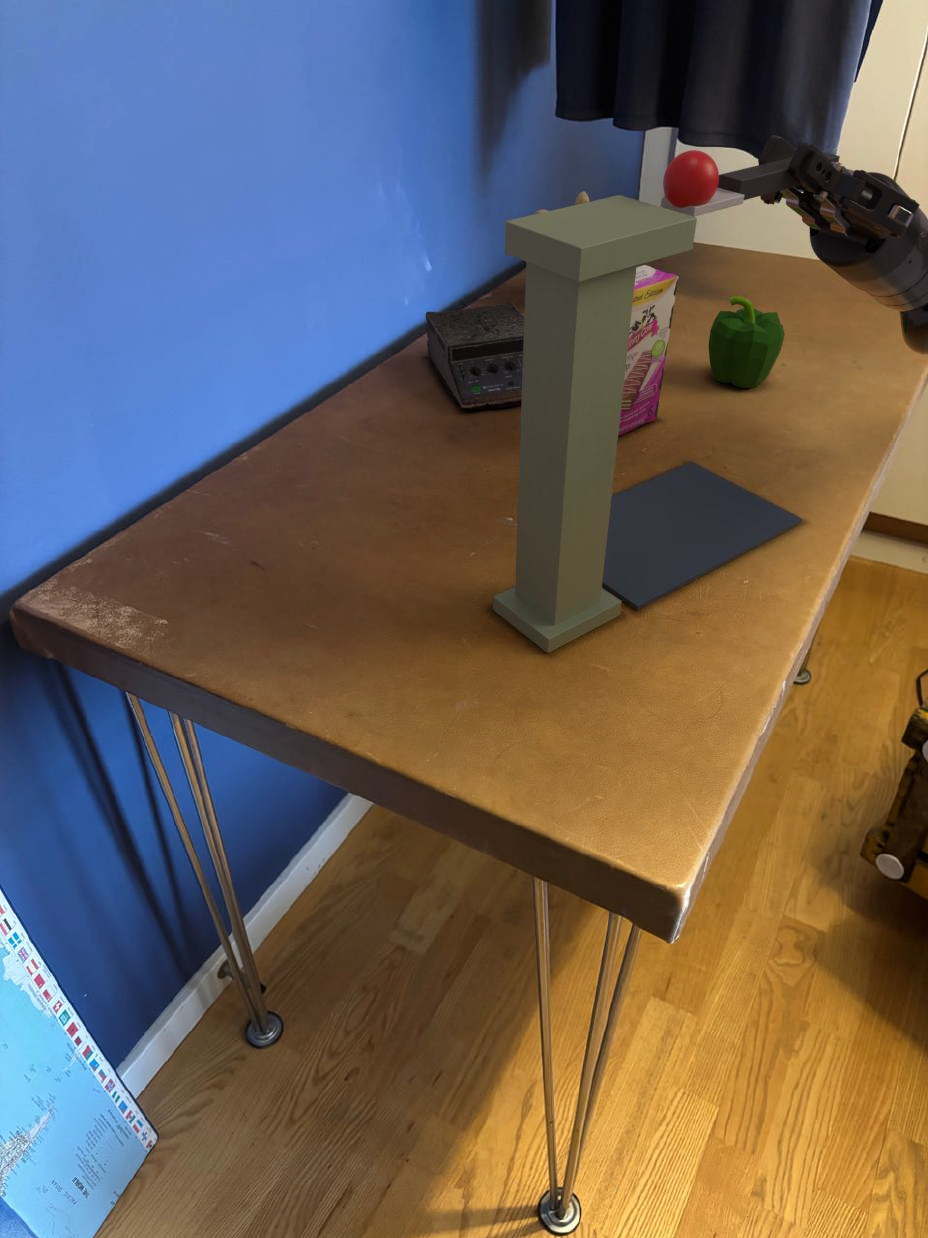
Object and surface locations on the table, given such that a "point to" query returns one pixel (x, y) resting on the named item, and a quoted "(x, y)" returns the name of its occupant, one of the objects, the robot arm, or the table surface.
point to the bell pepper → (744, 344)
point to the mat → (682, 531)
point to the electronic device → (479, 354)
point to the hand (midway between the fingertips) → (782, 152)
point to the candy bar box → (647, 346)
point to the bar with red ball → (720, 183)
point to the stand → (575, 402)
